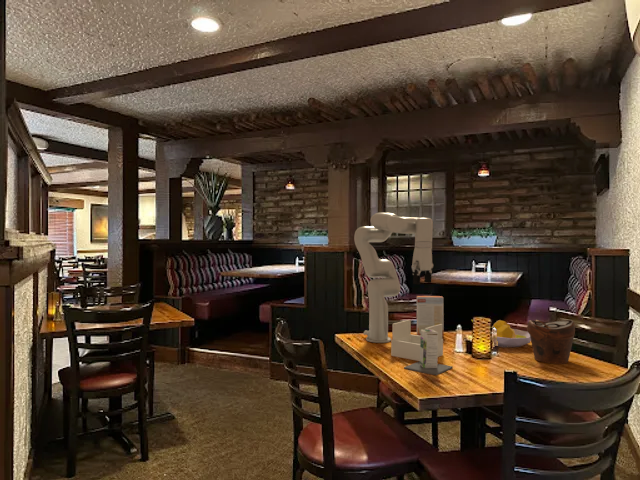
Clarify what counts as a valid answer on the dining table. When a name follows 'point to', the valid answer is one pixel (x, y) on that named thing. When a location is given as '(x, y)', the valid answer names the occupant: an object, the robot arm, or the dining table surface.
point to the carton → (410, 341)
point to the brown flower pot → (551, 340)
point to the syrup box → (428, 348)
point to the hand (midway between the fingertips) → (422, 283)
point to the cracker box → (430, 312)
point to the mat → (432, 371)
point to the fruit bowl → (510, 335)
